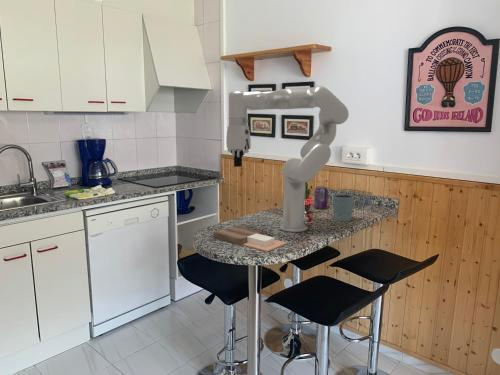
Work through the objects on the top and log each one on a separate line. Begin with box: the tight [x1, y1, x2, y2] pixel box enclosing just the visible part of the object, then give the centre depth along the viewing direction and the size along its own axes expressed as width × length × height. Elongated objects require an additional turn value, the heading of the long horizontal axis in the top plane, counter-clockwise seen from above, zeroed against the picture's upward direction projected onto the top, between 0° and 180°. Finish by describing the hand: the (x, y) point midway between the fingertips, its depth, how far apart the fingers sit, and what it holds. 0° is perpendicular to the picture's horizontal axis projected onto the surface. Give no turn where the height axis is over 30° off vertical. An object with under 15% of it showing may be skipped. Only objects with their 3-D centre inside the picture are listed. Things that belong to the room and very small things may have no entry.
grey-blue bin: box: [332, 193, 355, 222], centre depth 193 cm, size 10×10×12 cm
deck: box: [212, 225, 264, 246], centre depth 162 cm, size 14×15×2 cm
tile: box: [247, 234, 276, 247], centre depth 154 cm, size 6×9×2 cm, turn 50°
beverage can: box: [313, 185, 329, 210], centre depth 217 cm, size 7×7×12 cm
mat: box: [242, 239, 288, 253], centre depth 154 cm, size 13×12×1 cm
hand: (237, 166), depth 164 cm, fingers closed
